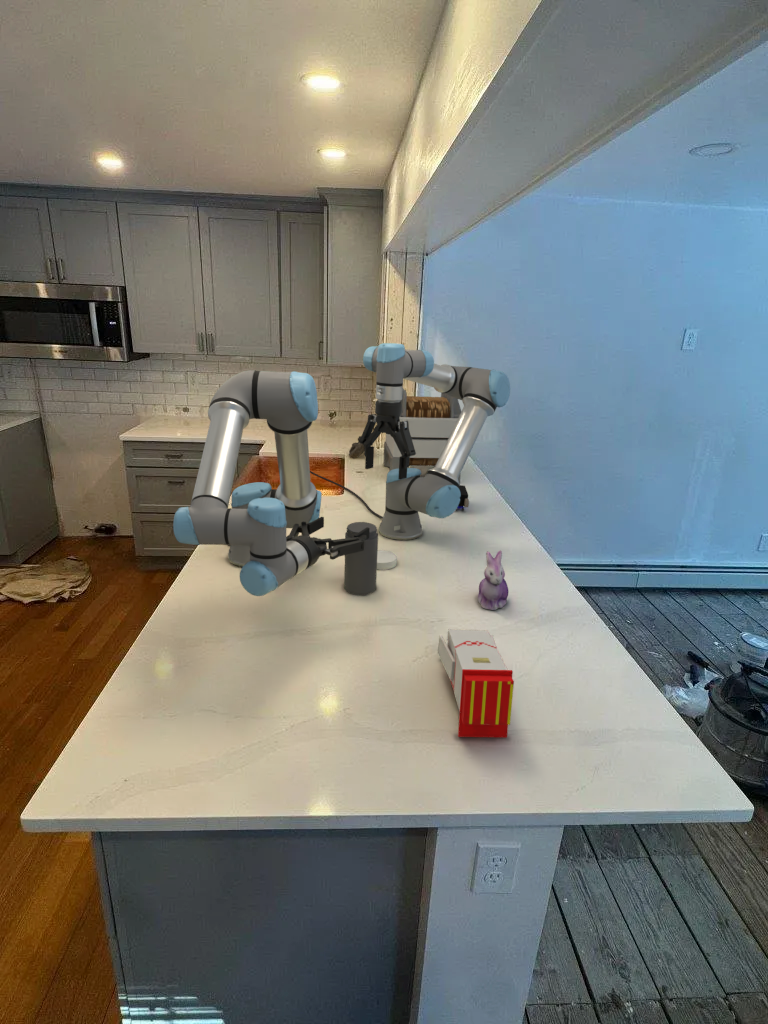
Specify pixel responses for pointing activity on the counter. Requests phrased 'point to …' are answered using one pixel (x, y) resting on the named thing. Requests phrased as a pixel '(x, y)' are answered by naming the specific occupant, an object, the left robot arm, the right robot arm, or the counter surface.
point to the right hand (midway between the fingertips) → (385, 473)
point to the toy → (478, 682)
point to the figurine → (493, 584)
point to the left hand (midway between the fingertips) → (345, 527)
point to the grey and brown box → (424, 429)
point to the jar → (361, 562)
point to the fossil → (356, 449)
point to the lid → (386, 560)
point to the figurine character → (463, 498)
